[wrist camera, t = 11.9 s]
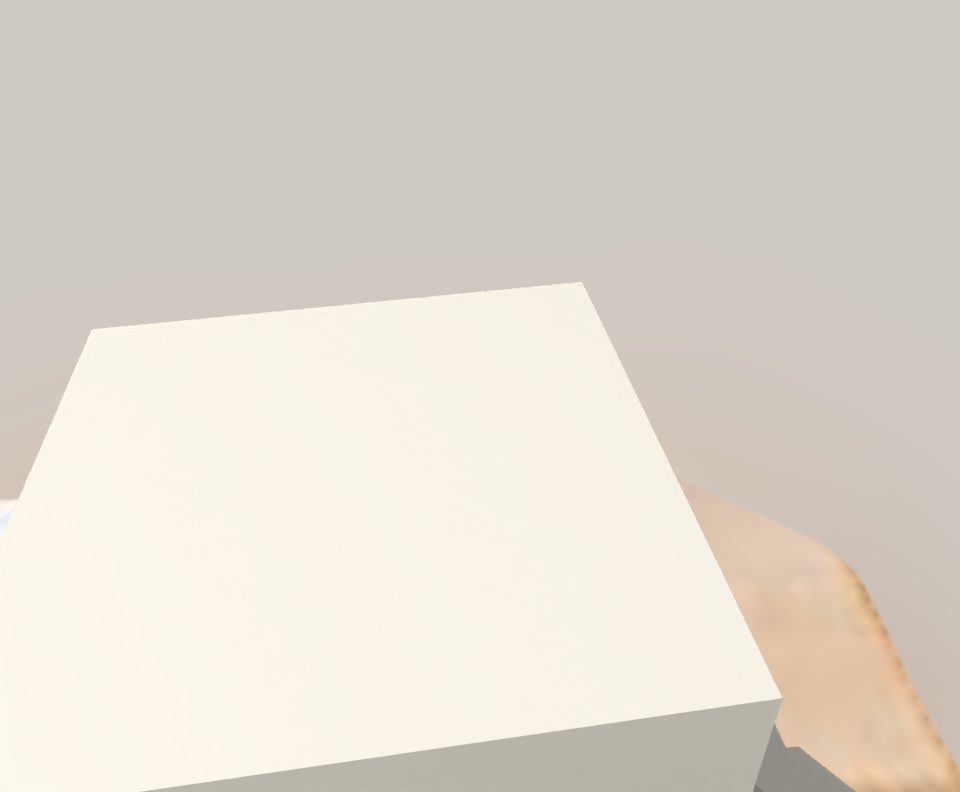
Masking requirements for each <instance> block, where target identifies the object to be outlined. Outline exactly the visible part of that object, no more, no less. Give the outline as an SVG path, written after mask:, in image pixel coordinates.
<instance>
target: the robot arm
mask: <svg viewBox="0 0 960 792" xmlns="http://www.w3.org/2000/svg"><path fill="white" fill-rule="evenodd" d="M753 792H855V791H854V790H853V789H852V788H850V787H849V786H848V785H846V784H845V783H844V782H843V781H841V780H840V779H839V778H838V777H836V776H835V775H834V774H833V773H831V772H830V771H829V770H827V769H826V768H825V767H824V766H822V765H821V764H820V763H819V762H817V761H816V760H815V759H814V758H812V757H811V756H810V755H808V754H807V753H806V752H805V751H803V750H802V749H801V748H800V747H789V748H786V747H785V745H784V743H783V741H782V738H781V736H780V734H779V732H778V730H777V728H776V726H775V723H774V726H773V729H772V732H771V735H770V739H769V742H768V745H767V748H766V751H765V754H764V758H763V761H762V764H761V767H760V770H759V774H758V777H757V780H756V783H755V786H754V789H753Z"/></svg>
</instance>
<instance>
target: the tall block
mask: <svg viewBox="0 0 960 792" xmlns="http://www.w3.org/2000/svg"><path fill="white" fill-rule="evenodd" d="M781 700H782V697H781V694H780V692H779V690H778V688H777V686H776V684H775V682H774V680H773V678H772V676H771V674H770V672H769V670H768V667H767V665H766V663H765V661H764V659H763V657H762V655H761V653H760V651H759V649H758V647H757V645H756V643H755V640H754V638H753V636H752V634H751V632H750V630H749V628H748V626H747V624H746V622H745V620H744V618H743V616H742V613H741V611H740V609H739V607H738V605H737V603H736V601H735V599H734V597H733V595H732V593H731V591H730V589H729V586H728V584H727V582H726V580H725V578H724V576H723V574H722V572H721V570H720V568H719V566H718V564H717V562H716V559H715V557H714V555H713V553H712V551H711V549H710V547H709V545H708V543H707V541H706V539H705V537H704V535H703V532H702V530H701V528H700V526H699V524H698V522H697V520H696V518H695V516H694V514H693V512H692V510H691V508H690V505H689V503H688V501H687V499H686V497H685V495H684V493H683V491H682V489H681V487H680V485H679V483H678V481H677V478H676V476H675V474H674V472H673V470H672V468H671V466H670V464H669V462H668V460H667V458H666V456H665V454H664V452H663V449H662V448H661V445H660V443H659V441H658V439H657V437H656V435H655V433H654V431H653V429H652V427H651V424H650V422H649V420H648V418H647V416H646V414H645V412H644V410H643V408H642V406H641V404H640V402H639V400H638V397H637V395H636V393H635V391H634V389H633V387H632V385H631V383H630V381H629V379H628V377H627V375H626V373H625V371H624V369H623V366H622V364H621V362H620V360H619V358H618V356H617V354H616V352H615V350H614V348H613V345H612V343H611V341H610V339H609V337H608V335H607V333H606V331H605V329H604V327H603V325H602V323H601V321H600V318H599V317H598V315H597V312H596V310H595V308H594V306H593V304H592V302H591V300H590V298H589V296H588V294H587V291H586V289H585V287H584V285H583V283H582V282H577V283H567V284H557V285H546V286H537V287H526V288H515V289H505V290H495V291H484V292H474V293H464V294H454V295H443V296H433V297H423V298H412V299H402V300H392V301H382V302H371V303H361V304H350V305H340V306H329V307H319V308H309V309H299V310H289V311H278V312H268V313H257V314H247V315H237V316H227V317H216V318H206V319H196V320H185V321H175V322H164V323H154V324H144V325H134V326H123V327H113V328H103V329H92V331H91V333H90V335H89V338H88V340H87V342H86V345H85V347H84V349H83V351H82V354H81V356H80V358H79V361H78V363H77V365H76V367H75V370H74V372H73V375H72V377H71V379H70V381H69V384H68V386H67V388H66V391H65V393H64V395H63V398H62V400H61V402H60V404H59V407H58V409H57V412H56V414H55V416H54V418H53V421H52V423H51V426H50V428H49V430H48V432H47V435H46V437H45V439H44V441H43V444H42V446H41V448H40V451H39V453H38V455H37V458H36V460H35V462H34V465H33V467H32V469H31V472H30V474H29V476H28V478H27V481H26V483H25V485H24V488H23V490H22V492H21V495H20V497H19V499H18V501H17V504H16V506H15V508H14V511H13V513H12V515H11V518H10V520H9V522H8V525H7V527H6V529H5V532H4V534H3V536H2V538H1V541H0V792H753V789H754V786H755V783H756V780H757V777H758V774H759V770H760V767H761V764H762V761H763V758H764V754H765V751H766V748H767V745H768V742H769V739H770V735H771V732H772V729H773V726H774V723H775V720H776V716H777V713H778V710H779V707H780V704H781Z"/></svg>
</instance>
